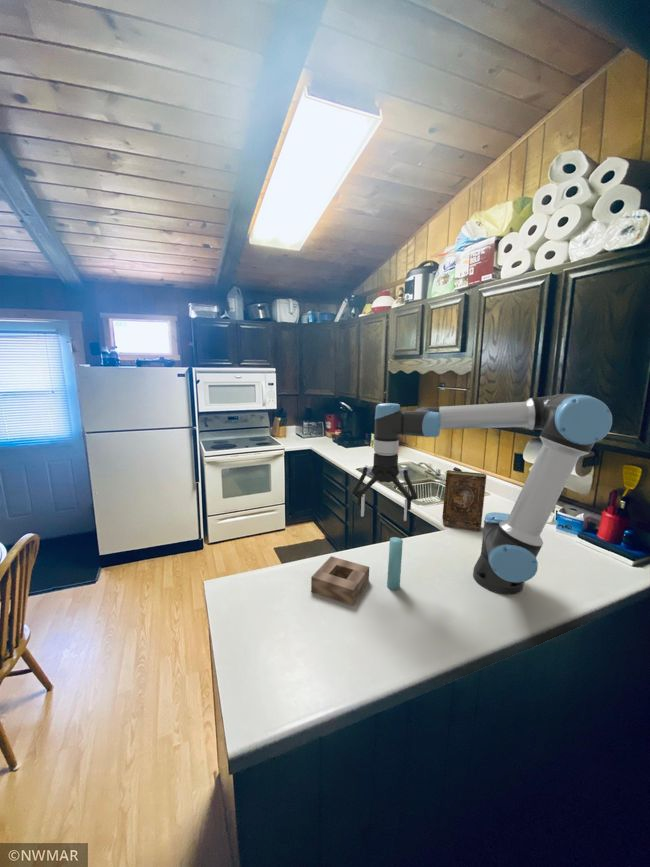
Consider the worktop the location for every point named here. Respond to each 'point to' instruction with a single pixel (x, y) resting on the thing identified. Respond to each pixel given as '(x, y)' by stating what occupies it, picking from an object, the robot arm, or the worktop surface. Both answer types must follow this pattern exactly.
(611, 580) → the worktop surface
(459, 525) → the book
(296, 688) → the worktop surface
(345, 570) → the socket block
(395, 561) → the peg
